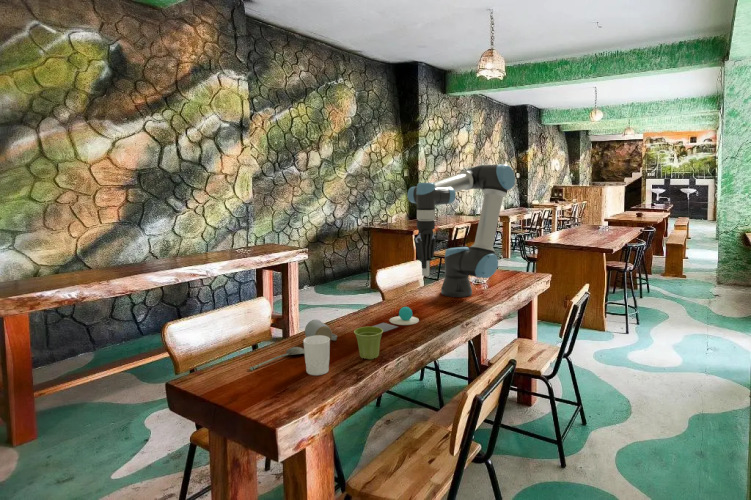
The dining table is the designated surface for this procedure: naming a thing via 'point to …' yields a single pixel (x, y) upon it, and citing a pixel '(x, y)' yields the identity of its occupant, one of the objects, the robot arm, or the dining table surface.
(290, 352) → the soupspoon
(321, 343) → the white cup
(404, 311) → the ball
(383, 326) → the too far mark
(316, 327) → the ceramic mug
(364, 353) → the plant pot
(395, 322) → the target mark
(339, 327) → the dining table surface
